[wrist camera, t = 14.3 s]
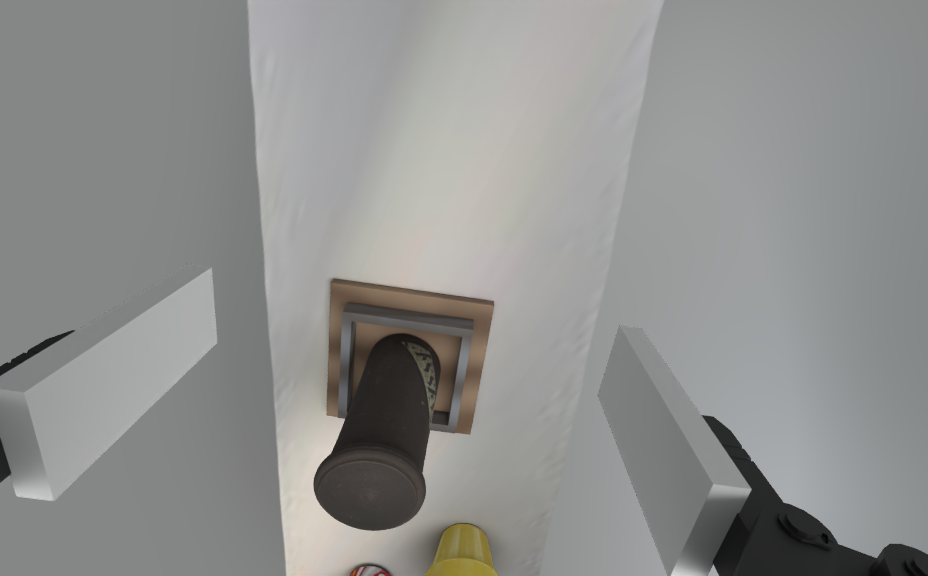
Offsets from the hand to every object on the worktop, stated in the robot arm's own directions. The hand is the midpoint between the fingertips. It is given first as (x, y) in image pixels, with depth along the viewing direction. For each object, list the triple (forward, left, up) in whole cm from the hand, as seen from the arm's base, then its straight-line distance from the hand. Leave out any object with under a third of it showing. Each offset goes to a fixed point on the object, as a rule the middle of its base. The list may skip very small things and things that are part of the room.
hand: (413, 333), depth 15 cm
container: (+23, -3, -34) cm, 41 cm away
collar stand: (+23, -3, -35) cm, 42 cm away
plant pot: (+52, +8, -35) cm, 63 cm away
